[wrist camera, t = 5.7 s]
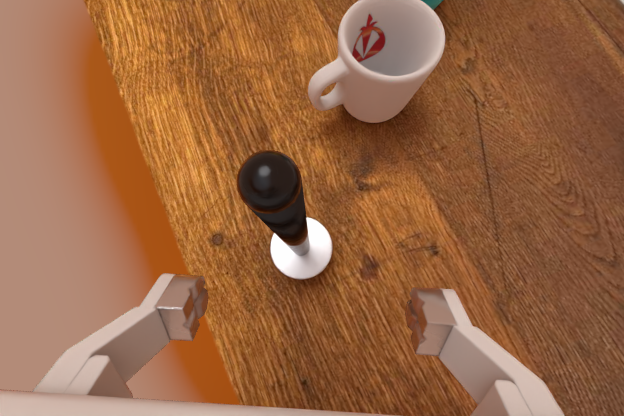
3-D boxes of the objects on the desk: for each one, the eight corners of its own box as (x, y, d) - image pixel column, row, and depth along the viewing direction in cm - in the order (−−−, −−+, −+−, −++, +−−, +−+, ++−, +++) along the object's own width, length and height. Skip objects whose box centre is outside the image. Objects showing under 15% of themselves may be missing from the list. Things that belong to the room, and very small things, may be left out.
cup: (328, 158, 27) (334, 113, 20) (293, 92, 29) (286, 26, 21) (425, 114, 28) (467, 54, 20) (386, 53, 30) (412, -25, 22)
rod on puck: (333, 275, 25) (414, 290, 5) (276, 281, 25) (130, 320, 5) (327, 219, 26) (372, 50, 6) (272, 225, 26) (139, 71, 6)
